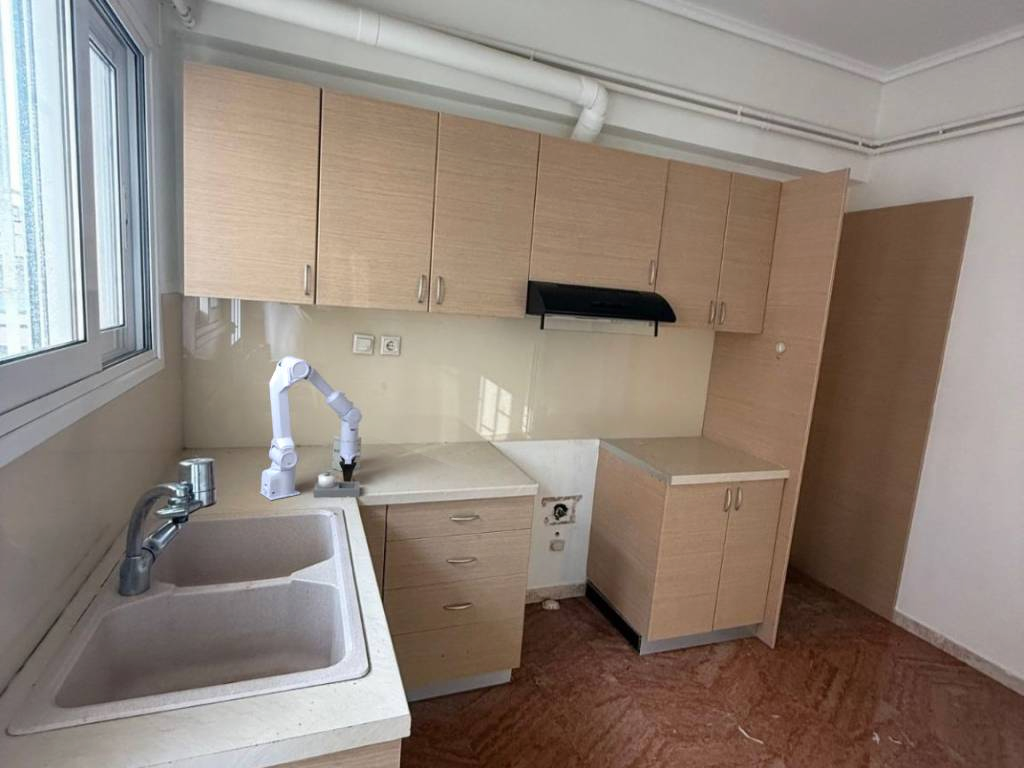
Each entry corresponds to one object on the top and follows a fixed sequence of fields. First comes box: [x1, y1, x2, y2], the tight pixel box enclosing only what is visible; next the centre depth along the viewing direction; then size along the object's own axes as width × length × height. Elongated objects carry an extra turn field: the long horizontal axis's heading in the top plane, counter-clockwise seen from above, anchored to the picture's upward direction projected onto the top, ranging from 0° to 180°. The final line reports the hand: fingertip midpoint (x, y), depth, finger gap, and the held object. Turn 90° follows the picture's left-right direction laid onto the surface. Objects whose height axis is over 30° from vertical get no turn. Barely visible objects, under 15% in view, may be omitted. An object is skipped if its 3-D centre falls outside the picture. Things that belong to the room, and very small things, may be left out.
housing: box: [313, 471, 360, 498], centre depth 170 cm, size 14×8×7 cm, turn 107°
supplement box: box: [331, 434, 362, 472], centre depth 196 cm, size 7×7×13 cm
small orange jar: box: [341, 471, 354, 482], centre depth 180 cm, size 4×4×6 cm
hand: (347, 477), depth 180 cm, fingers open, 7 cm apart
